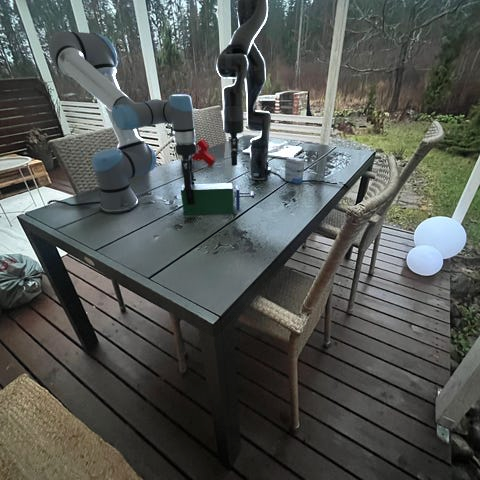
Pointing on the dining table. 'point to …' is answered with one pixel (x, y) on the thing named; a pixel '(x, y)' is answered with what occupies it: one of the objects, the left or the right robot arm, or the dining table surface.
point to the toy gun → (203, 153)
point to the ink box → (294, 170)
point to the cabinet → (209, 199)
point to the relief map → (280, 150)
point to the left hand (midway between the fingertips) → (191, 200)
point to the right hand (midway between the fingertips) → (233, 162)
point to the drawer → (242, 196)
